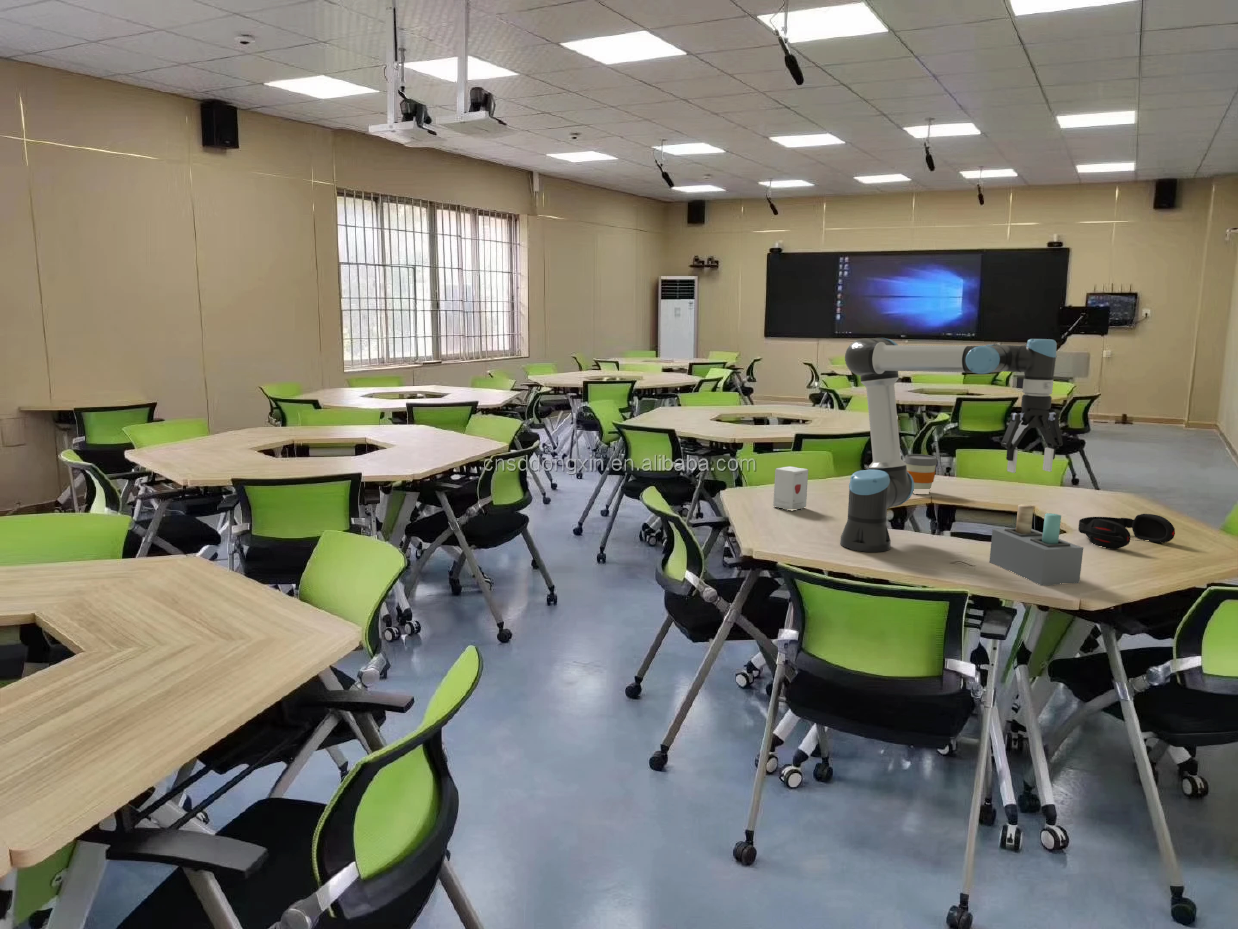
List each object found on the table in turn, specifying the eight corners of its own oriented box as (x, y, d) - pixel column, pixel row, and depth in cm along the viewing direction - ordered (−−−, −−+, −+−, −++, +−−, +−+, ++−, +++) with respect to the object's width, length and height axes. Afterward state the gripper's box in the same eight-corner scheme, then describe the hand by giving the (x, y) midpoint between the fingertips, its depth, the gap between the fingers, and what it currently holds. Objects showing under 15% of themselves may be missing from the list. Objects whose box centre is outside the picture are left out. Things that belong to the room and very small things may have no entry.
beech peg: (1011, 536, 246) (1015, 504, 244) (1023, 536, 247) (1027, 504, 245) (1021, 540, 242) (1024, 507, 241) (1033, 539, 243) (1036, 507, 241)
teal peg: (1038, 546, 236) (1041, 513, 234) (1050, 546, 236) (1054, 513, 235) (1048, 550, 232) (1051, 517, 230) (1060, 550, 233) (1064, 516, 231)
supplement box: (791, 512, 310) (794, 471, 307) (772, 507, 316) (774, 468, 314) (807, 508, 316) (809, 469, 313) (787, 504, 322) (789, 465, 320)
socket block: (989, 562, 250) (992, 527, 248) (1024, 560, 253) (1028, 525, 251) (1041, 585, 229) (1045, 547, 227) (1079, 583, 232) (1083, 545, 230)
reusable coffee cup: (896, 489, 353) (899, 454, 350) (925, 489, 354) (928, 454, 351) (910, 496, 340) (913, 459, 338) (940, 495, 342) (943, 459, 339)
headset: (1161, 561, 255) (1165, 532, 253) (1066, 544, 272) (1069, 517, 270) (1177, 543, 276) (1180, 516, 274) (1087, 528, 293) (1090, 503, 291)
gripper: (1009, 396, 231) (1001, 475, 235) (1082, 395, 237) (1074, 472, 240) (991, 393, 238) (984, 470, 242) (1063, 392, 244) (1055, 467, 248)
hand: (1029, 471), depth 241 cm, fingers open, 11 cm apart
